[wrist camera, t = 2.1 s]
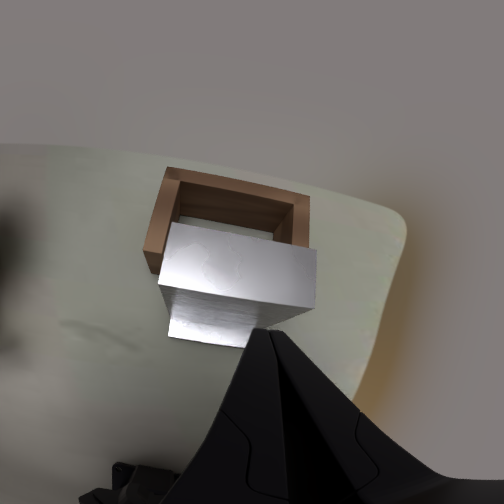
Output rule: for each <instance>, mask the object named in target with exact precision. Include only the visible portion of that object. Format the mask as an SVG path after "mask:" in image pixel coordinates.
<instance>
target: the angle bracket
mask: <svg viewBox="0 0 504 504" xmlns="http://www.w3.org/2000/svg"><path fill="white" fill-rule="evenodd" d="M316 260H317V250H315V249H311V248H306V247H301V246H296V245H290V244H285V243H280V242H275V241H270V240H265V239H260V238H255V237H250V236H244V235H239V234H234V233H229V232H223V231H218V230H213V229H207V228H202V227H197V226H191V225H186V224H180V223H175V222H172V223H171V228H170V232H169V236H168V240H167V244H166V249H165V253H164V258H163V262H162V267H161V272H160V277H159V282H158V285H159V288H160V290H161V293H162V296H163V299H164V301H165V304H166V307H167V309H168V312H169V315H170V317H171V322H170V328H169V334H168V336H169V337H173V338H178V339H184V340H190V341H196V342H202V343H209V344H216V345H223V346H230V347H238V348H245V346H246V344H247V341H248V339H249V336H250V334H251V331H252V329H253V328H262V329H263V328H266V327H269V326H272V325H274V324H277V323H279V322H282V321H285V320H287V319H290V318H292V317H295V316H297V315H300V314H302V313H305V312H307V311H310V310H312V309H315V289H316Z"/></svg>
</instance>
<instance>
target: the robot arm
mask: <svg viewBox="0 0 504 504" xmlns="http://www.w3.org/2000/svg"><path fill="white" fill-rule="evenodd" d="M117 467H120V468H121V469H122V470H118V469H117ZM79 503H80V504H504V480H471V479H456V478H449V477H446V476H443V475H440V474H438V473H436V472H434V471H433V470H431V469H430V468H429V467H427V466H426V465H424V464H423V463H422V462H420V461H419V460H418V459H416V458H415V457H414V456H412V455H411V454H410V453H408V452H407V451H406V450H405V449H403V448H402V447H401V446H399V445H398V444H397V443H396V442H394V441H393V440H392V439H391V438H390V437H388V436H387V435H386V434H385V433H384V432H382V431H381V430H380V429H379V428H378V427H377V426H376V425H375V424H374V423H373V422H372V421H371V420H370V419H369V418H368V417H367V416H366V415H365V414H363V413H362V412H360V410H359V409H358V408H357V407H356V406H355V405H354V404H353V403H352V402H351V401H350V400H349V399H348V398H347V397H346V396H345V395H344V394H343V393H342V392H341V391H340V390H339V389H338V388H337V387H336V386H335V384H334V383H333V382H332V381H331V380H330V379H329V378H328V377H327V376H326V375H325V374H324V373H323V372H322V371H321V370H320V369H319V368H318V367H317V366H316V365H315V364H314V363H313V362H312V361H311V360H310V359H309V358H308V357H307V356H306V355H305V354H304V353H303V351H302V350H301V349H300V348H299V347H298V346H297V345H296V344H295V343H294V342H293V341H292V340H291V339H290V338H289V337H288V336H287V335H286V334H285V333H284V332H283V331H279V330H269V331H268V330H267V329H262V328H253V329H252V331H251V334H250V336H249V339H248V341H247V344H246V346H245V349H244V351H243V353H242V356H241V358H240V361H239V363H238V366H237V368H236V370H235V373H234V375H233V378H232V380H231V382H230V385H229V387H228V389H227V392H226V394H225V396H224V399H223V401H222V403H221V406H220V408H219V411H218V412H217V415H216V417H215V419H214V421H213V424H212V426H211V428H210V430H209V432H208V434H207V436H206V438H205V440H204V441H203V443H202V444H201V446H200V448H199V449H198V451H197V452H196V454H195V456H194V457H193V459H192V460H191V461H190V463H189V464H188V466H187V467H186V468H185V470H184V471H183V473H182V474H176V473H173V472H172V471H170V470H164V469H158V468H153V467H147V466H142V465H138V466H132V465H128V464H124V463H120V462H116V463H115V464H114V465H113V467H112V490H109V489H103V488H96V489H94V490H92V491H90V492H88V493H86V494H84V495H82V496H80V497H79Z"/></svg>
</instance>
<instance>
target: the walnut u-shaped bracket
mask: <svg viewBox="0 0 504 504" xmlns="http://www.w3.org/2000/svg"><path fill="white" fill-rule="evenodd" d="M180 215H184V216H190V217H195V218H200V219H206V220H211V221H216V222H222V223H227V224H232V225H237V226H242V227H247V228H252V229H258V230H263V231H268V232H273V233H274V234H273V241H275V242H280V243H285V244H290V245H296V246H301V247H306V248H309V220H310V196H307V195H303V194H299V193H295V192H291V191H287V190H282V189H278V188H274V187H270V186H265V185H261V184H256V183H252V182H247V181H242V180H237V179H233V178H228V177H223V176H218V175H212V174H207V173H202V172H196V171H191V170H185V169H179V168H173V167H167V168H166V171H165V174H164V177H163V181H162V184H161V187H160V190H159V193H158V197H157V200H156V203H155V207H154V210H153V214H152V217H151V221H150V224H149V228H148V232H147V235H146V239H145V243H144V247H143V252H144V255H145V258H146V261H147V263H148V266H149V269H150V271H151V273H153V274H158V275H160V272H161V267H162V262H163V258H164V253H165V249H166V244H167V240H168V236H169V232H170V228H171V223H172V222H175V223H178V220H179V216H180Z"/></svg>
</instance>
